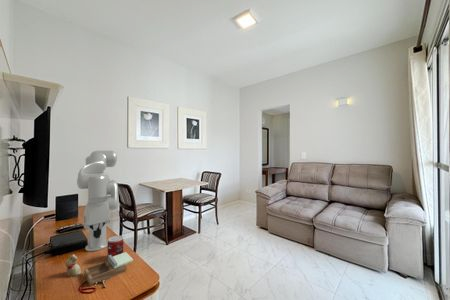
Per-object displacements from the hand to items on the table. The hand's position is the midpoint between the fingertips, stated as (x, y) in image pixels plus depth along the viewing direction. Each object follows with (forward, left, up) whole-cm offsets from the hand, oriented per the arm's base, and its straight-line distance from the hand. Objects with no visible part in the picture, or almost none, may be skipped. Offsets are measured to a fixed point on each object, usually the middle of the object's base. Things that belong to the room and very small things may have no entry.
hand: (97, 237), depth 92 cm
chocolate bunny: (-10, -8, -19) cm, 23 cm away
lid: (+1, +10, -15) cm, 18 cm away
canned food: (-11, +11, -19) cm, 24 cm away
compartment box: (+1, +3, -18) cm, 19 cm away
